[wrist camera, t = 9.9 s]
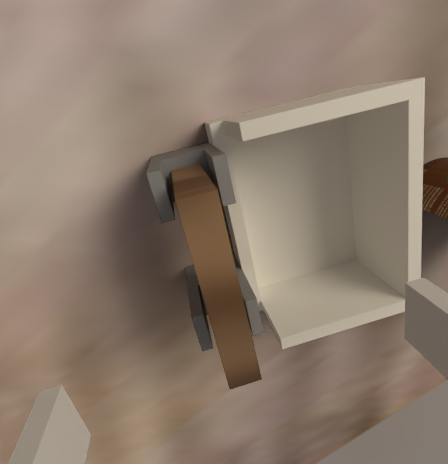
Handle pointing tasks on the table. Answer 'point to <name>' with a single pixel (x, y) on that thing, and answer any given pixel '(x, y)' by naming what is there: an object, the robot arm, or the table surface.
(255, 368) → the door
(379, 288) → the carcass
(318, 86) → the table surface
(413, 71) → the table surface
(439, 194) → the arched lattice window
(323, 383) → the table surface
